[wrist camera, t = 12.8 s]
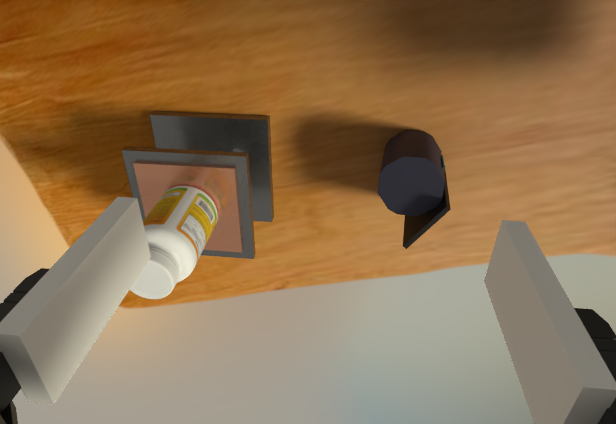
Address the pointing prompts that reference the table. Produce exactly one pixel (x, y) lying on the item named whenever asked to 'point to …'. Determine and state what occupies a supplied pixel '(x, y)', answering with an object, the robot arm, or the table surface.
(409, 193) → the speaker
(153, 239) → the supplement bottle
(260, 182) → the stand
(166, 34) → the table surface
